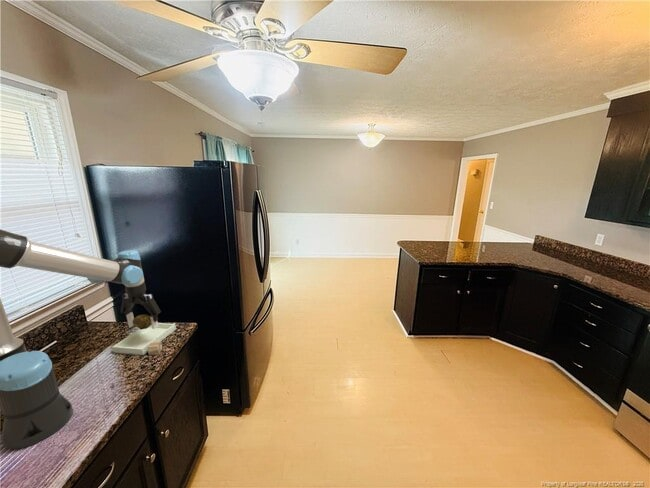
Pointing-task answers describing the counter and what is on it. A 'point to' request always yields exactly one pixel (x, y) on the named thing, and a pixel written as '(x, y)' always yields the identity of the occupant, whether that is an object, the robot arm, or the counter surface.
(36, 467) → the counter surface
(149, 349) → the beech block
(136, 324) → the potato
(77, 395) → the counter surface
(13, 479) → the counter surface
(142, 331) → the tray
